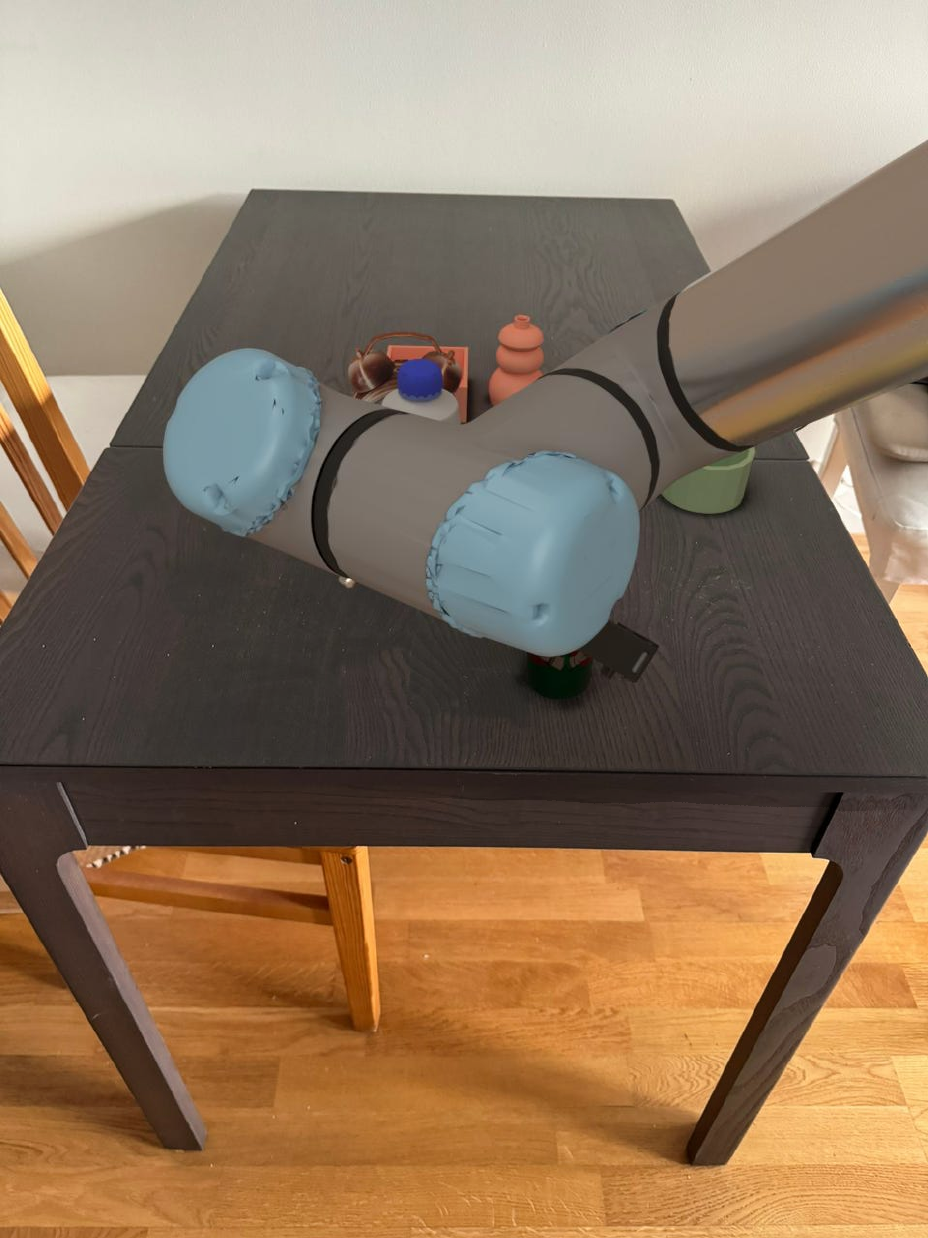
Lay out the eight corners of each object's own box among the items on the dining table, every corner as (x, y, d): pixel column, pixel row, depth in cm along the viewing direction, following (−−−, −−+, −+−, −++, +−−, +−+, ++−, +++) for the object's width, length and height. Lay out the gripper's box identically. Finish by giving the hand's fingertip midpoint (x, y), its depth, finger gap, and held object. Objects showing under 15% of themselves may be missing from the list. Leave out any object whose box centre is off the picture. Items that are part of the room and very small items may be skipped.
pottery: (383, 420, 101) (379, 335, 95) (389, 379, 108) (386, 296, 102) (548, 424, 101) (555, 339, 95) (543, 382, 108) (550, 300, 102)
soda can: (586, 658, 74) (604, 538, 66) (591, 705, 70) (611, 584, 62) (523, 657, 74) (533, 536, 66) (525, 703, 70) (536, 582, 62)
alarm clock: (352, 487, 91) (341, 344, 81) (353, 460, 95) (342, 320, 85) (462, 484, 92) (464, 342, 82) (458, 458, 96) (461, 319, 86)
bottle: (472, 587, 80) (478, 375, 67) (398, 605, 78) (390, 390, 65) (444, 543, 85) (445, 336, 72) (374, 558, 83) (362, 349, 70)
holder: (749, 477, 94) (761, 433, 91) (735, 522, 88) (747, 477, 85) (668, 459, 96) (676, 416, 93) (649, 501, 91) (656, 457, 87)
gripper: (250, 493, 57) (430, 576, 75) (550, 713, 44) (682, 750, 62) (311, 387, 57) (478, 496, 74) (635, 579, 43) (743, 655, 61)
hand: (571, 612), depth 68 cm, fingers open, 13 cm apart
